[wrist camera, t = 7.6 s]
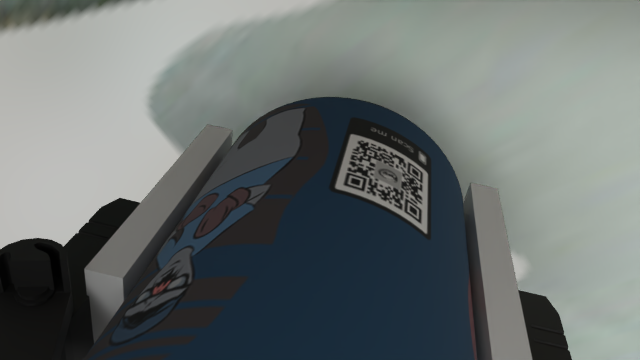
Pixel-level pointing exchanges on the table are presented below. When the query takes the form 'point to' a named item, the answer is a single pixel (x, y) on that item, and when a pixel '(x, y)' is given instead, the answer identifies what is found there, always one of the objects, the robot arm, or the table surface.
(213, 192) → the soda can
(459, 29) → the table surface
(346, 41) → the table surface
